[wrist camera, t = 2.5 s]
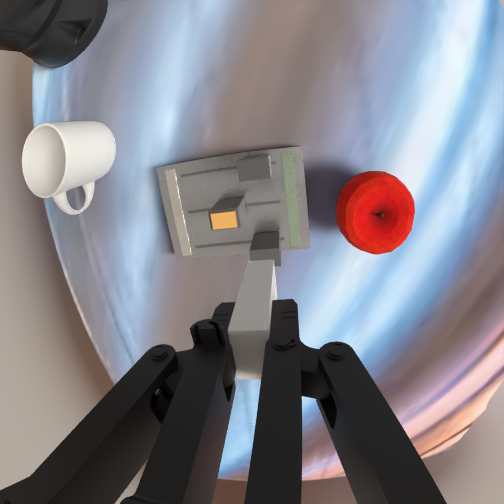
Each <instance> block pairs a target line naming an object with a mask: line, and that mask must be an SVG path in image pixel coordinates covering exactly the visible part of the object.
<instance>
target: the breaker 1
mask: <svg viewBox="0 0 504 504" xmlns="http://www.w3.org/2000/svg"><path fill="white" fill-rule="evenodd" d="M236 164H237V170H238V177H239V182H243V181H251V180H259V179H268V178H271V176H272V165H271V157H270V154H267V155H259V156H251V157H243V158H241V159H239V160H237V161H236Z"/></svg>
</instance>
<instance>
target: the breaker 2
mask: <svg viewBox="0 0 504 504" xmlns="http://www.w3.org/2000/svg"><path fill="white" fill-rule="evenodd" d="M249 251H250V258H251V261H256V260H272V259H274V266H281V243H280V234H279V232H270V233H259V234H254V235H253V239H252V243H251V246H250V250H249Z"/></svg>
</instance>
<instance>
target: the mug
mask: <svg viewBox="0 0 504 504" xmlns="http://www.w3.org/2000/svg"><path fill="white" fill-rule="evenodd" d="M115 154H116V143H115V139H114V136H113V134H112V132H111V131H110V129H109V128H108V127H107V126H106V125H104V124H103V123H100V122H97V121H73V122H55V123H43V124H40V125H38V126H37V127H35V128H34V129H33V130H32V131H31V133H30V134H29V135H28V137H27V139H26V142H25V144H24V148H23V153H22V170H23V175H24V179H25V181H26V183H27V185H28V187H29V189H30V190H31V191H32V192H33V193H34V194H35V195H36V196H38V197H41V198H49V197H52V198H53V200H54V201H55V203H56V204H57V205H58V207H59V208H60V209H61V210H62V211H64V212H65V213H67V214H70V215H76V214H79V213H81V212H82V211H84V210H85V209H86V208H87V207H88V206H89V204H90V202H91V200H92V198H93V194H94V185H95V181H96V180H98V179H100V178H101V177H103V176H104V175H105V174H106V173H107V172H108V171H109V170H110V168H111V166H112V164H113V162H114V159H115ZM79 186H82V187H83V189H84V192H85V196H86V200H85V204H84V206H83V208H82V209H80V210H74V209H72V208H71V207H70V205H69V203H68V201H67V196H66V191H68V190H70V189H73V188H76V187H79Z"/></svg>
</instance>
